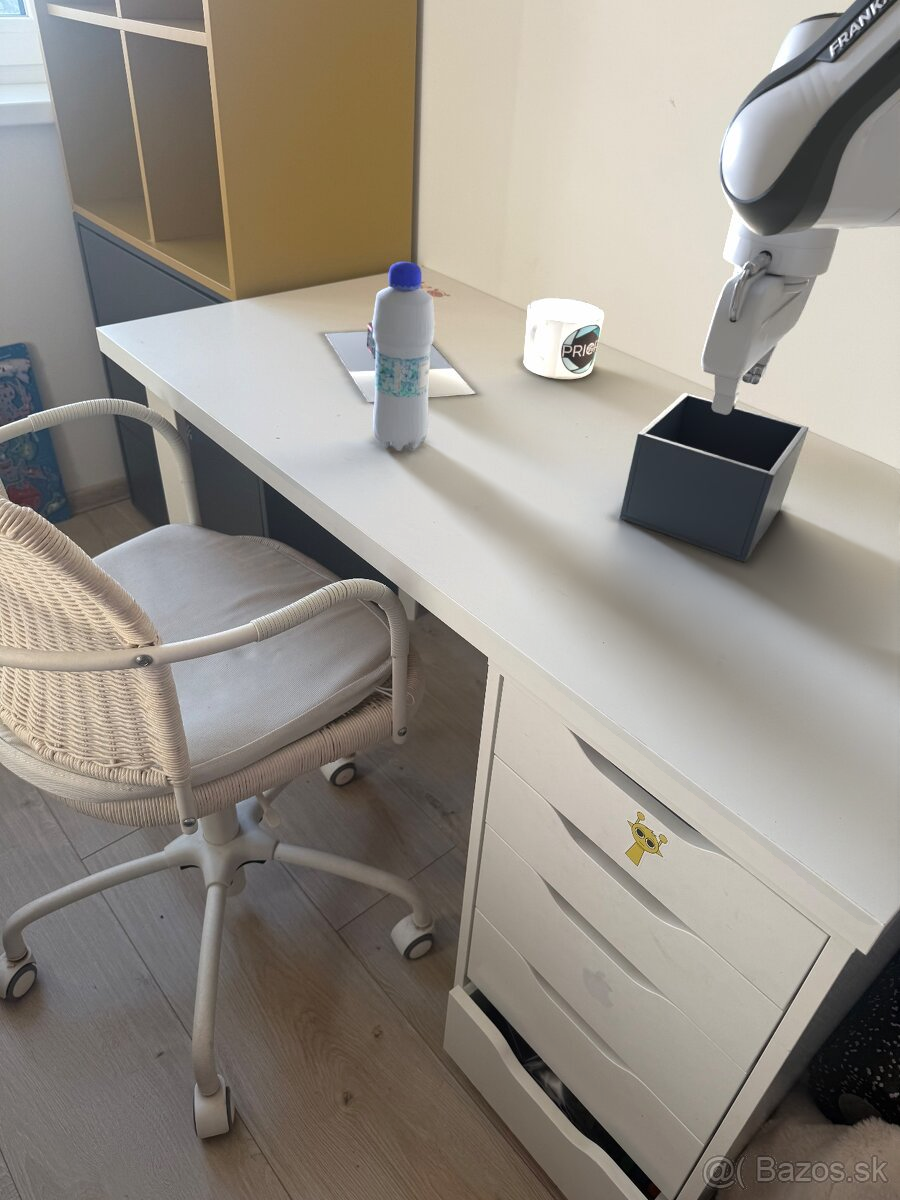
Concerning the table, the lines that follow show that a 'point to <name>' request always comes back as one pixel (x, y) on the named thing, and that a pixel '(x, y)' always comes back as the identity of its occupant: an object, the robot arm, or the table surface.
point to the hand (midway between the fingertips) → (737, 395)
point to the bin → (711, 475)
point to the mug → (562, 337)
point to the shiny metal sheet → (360, 363)
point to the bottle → (402, 358)
